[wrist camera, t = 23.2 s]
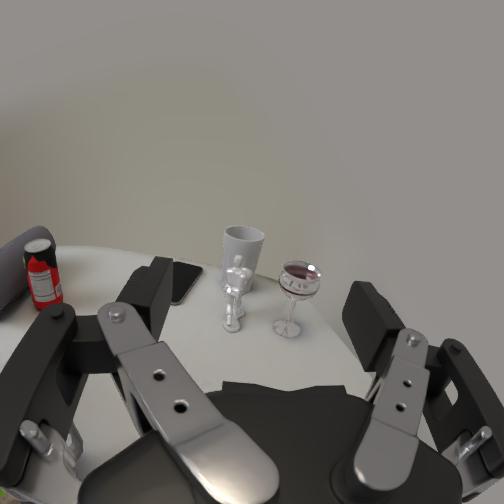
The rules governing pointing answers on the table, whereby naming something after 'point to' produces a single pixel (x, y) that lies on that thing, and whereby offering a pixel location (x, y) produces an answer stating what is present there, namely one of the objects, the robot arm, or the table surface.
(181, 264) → the smartphone
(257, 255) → the cup
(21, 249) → the bluetooth speaker
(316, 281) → the wineglass
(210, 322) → the table surface
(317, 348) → the table surface
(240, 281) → the figurine
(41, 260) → the beverage can
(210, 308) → the table surface
